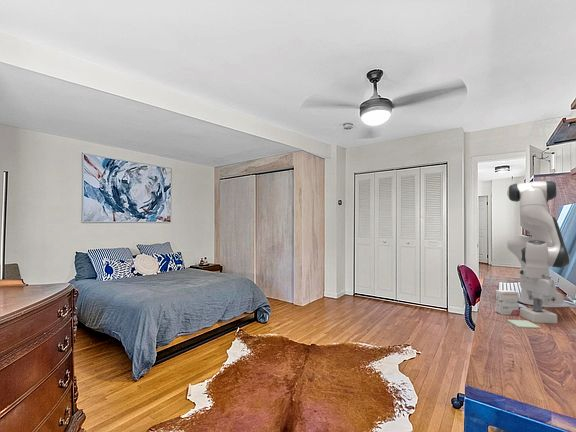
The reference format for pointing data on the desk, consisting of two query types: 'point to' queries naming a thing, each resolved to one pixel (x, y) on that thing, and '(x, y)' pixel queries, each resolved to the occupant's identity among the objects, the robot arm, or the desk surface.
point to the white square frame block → (538, 315)
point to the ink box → (507, 302)
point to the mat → (523, 324)
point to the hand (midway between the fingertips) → (537, 301)
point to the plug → (537, 305)
